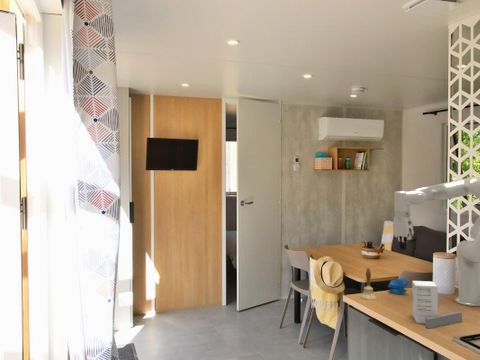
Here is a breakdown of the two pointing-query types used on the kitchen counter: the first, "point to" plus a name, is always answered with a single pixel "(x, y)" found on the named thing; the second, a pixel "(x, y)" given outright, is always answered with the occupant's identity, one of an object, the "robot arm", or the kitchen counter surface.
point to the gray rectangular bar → (443, 319)
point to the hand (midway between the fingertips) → (402, 249)
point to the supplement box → (424, 300)
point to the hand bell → (368, 288)
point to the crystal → (398, 286)
